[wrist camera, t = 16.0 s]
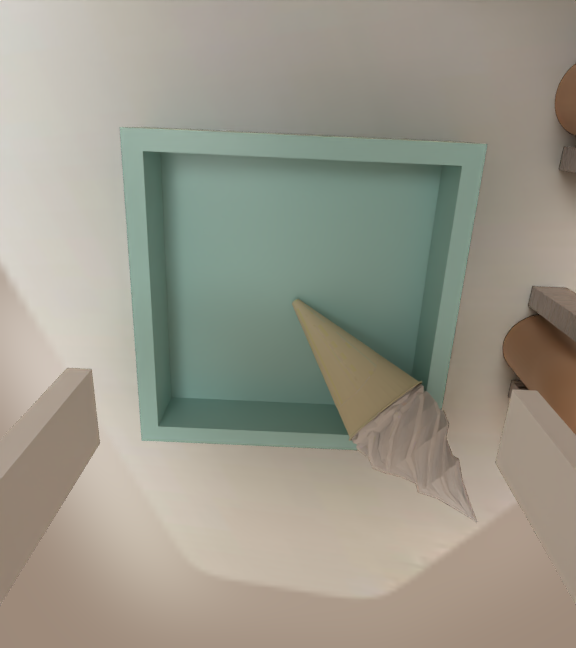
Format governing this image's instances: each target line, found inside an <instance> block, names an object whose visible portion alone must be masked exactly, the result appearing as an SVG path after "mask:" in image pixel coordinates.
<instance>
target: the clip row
mask: <svg viewBox="0 0 576 648" xmlns="http://www.w3.org/2000/svg"><path fill="white" fill-rule="evenodd" d="M559 170H562V171H568V172H574V173H576V147H564V148H563V153H562V157H561V162H560V166H559ZM528 306H530V307H531V308H532V309H534V310H535V311H536V312H537V313H539V314H540V315H541V316H543V317H544V318H545V319H547V320H548V321H549V322H550V323H552V324H553V325H554V326H556V327H557V328H558V329H560V330H561V331H562V332H563V333H565V334H566V335H567V336H569V337H570V338H571V339H573V340H574V341H575V342H576V293H574V292H573V291H571V290H569V289H568V288H559V287H538V286H533V287H532V291H531V296H530V300H529V305H528ZM512 389H515V390H528V388H527V387H526V386H525V385H524V383H523V382H522V381H521V380H511V385H510V389H509V394H508V398H509V399H510V398H511V393H512Z"/></svg>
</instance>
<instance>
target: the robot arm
mask: <svg viewBox="0 0 576 648" xmlns="http://www.w3.org/2000/svg"><path fill="white" fill-rule="evenodd" d="M99 444H100V439H99V430H98V421H97V412H96V403H95V394H94V386H93V377H92V369H80V368H67V369H66V370H65V371H64V372H63V373H62V374H61V375H60V376H59V377H58V378H57V379H56V381H55V382H54V383H53V384H52V385H51V386H50V387H49V388H48V389H47V390H46V391H45V392H44V393H43V394H42V395H41V397H40V398H39V399H38V400H37V401H36V402H35V403H34V404H33V405H32V406H31V407H30V408H29V409H28V411H27V412H26V413H25V414H24V415H23V416H22V417H21V418H20V419H19V420H18V421H17V422H16V423H15V425H14V426H13V427H12V428H11V429H10V430H9V431H8V432H7V433H6V434H5V435H4V436H3V437H2V439H1V440H0V605H1V603H2V602H3V600H4V599H5V597H6V595H7V594H8V592H9V591H10V589H11V587H12V586H13V584H14V582H15V581H16V579H17V577H18V576H19V574H20V572H21V571H22V569H23V568H24V566H25V564H26V563H27V561H28V560H29V558H30V556H31V555H32V553H33V551H34V550H35V548H36V546H37V545H38V543H39V542H40V540H41V538H42V537H43V535H44V534H45V532H46V530H47V529H48V527H49V525H50V524H51V522H52V521H53V519H54V517H55V516H56V514H57V512H58V511H59V509H60V508H61V506H62V504H63V503H64V501H65V499H66V498H67V496H68V494H69V493H70V491H71V490H72V488H73V486H74V485H75V483H76V481H77V480H78V478H79V477H80V475H81V473H82V472H83V470H84V468H85V467H86V465H87V464H88V462H89V460H90V459H91V457H92V455H93V454H94V452H95V450H96V449H97V447H98V446H99ZM495 463H496V465H497V467H498V468H499V470H500V472H501V474H502V475H503V477H504V479H505V481H506V482H507V484H508V486H509V488H510V490H511V491H512V493H513V495H514V497H515V498H516V500H517V502H518V504H519V505H520V507H521V509H522V511H523V512H524V514H525V516H526V518H527V520H528V521H529V523H530V525H531V527H532V528H533V530H534V532H535V534H536V536H537V537H538V539H539V541H540V543H541V544H542V546H543V548H544V549H545V551H546V553H547V555H548V557H549V559H550V560H551V562H552V564H553V566H554V567H555V569H556V571H557V573H558V574H559V576H560V578H561V580H562V582H563V583H564V585H565V587H566V589H567V590H568V592H569V594H570V596H571V597H572V599H573V601H574V603H575V604H576V435H575V434H574V433H573V431H572V430H571V429H570V428H569V427H568V426H567V424H566V423H565V422H564V421H563V420H562V419H561V418H560V416H559V415H558V414H557V413H556V412H555V411H554V409H553V408H552V407H551V406H550V405H549V404H548V403H547V401H546V400H545V399H544V398H543V397H542V396H541V395H540V393H539V392H538V391H536V390H515V389H512V393H511V398H510V402H509V406H508V410H507V415H506V419H505V423H504V427H503V432H502V436H501V440H500V444H499V449H498V453H497V457H496V461H495Z"/></svg>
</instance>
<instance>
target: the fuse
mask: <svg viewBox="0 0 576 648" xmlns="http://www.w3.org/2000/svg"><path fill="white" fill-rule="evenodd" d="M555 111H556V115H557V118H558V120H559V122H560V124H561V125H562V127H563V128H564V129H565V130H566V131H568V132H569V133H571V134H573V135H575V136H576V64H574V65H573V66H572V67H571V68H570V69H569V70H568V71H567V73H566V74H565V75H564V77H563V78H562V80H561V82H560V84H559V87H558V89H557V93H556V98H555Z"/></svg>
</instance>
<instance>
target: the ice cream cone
mask: <svg viewBox="0 0 576 648" xmlns="http://www.w3.org/2000/svg"><path fill="white" fill-rule="evenodd" d="M292 305H293V308H294V310H295V312H296V315H297V317H298V319H299V322H300V324H301V326H302V329H303V331H304V333H305V336H306V338H307V340H308V343H309V345H310V347H311V350H312V352H313V354H314V356H315V359H316V361H317V363H318V366H319V368H320V370H321V373H322V375H323V377H324V380H325V382H326V384H327V387H328V389H329V391H330V394H331V396H332V398H333V400H334V403H335V405H336V407H337V409H338V411H339V414H340V416H341V418H342V421H343V423H344V425H345V428H346V430H347V432H348V435H349V437H350V438H349V441H351V440H352V441H353V443H354V444H357V446H356V448H357V450H358V451H359V452H361V453H362V454H364V455H365V456H367V457H368V458H369V460H370V463H371V465H372V468H374V469H376V470H379V471H381V472H384V473H388V474H392V475H395V476H399V477H402V478H405V479H407V480H409V481H411V482H413V483H415V484H416V487H417V490H418V492H419V493H422V494H425V495H428V496H431V497H434V498H437V499H439V500H441V501H442V502H444V503H446V504H447V505H449V506H451V507H453V508H454V509H456V510H458V511H459V512H461V513H462V514H464V515H466V516H467V517H469V518H470V519H472V520H474V521H475V522H478V521H477V519H476V516H475V514H474V511H473V509H472V507H471V504H470V501H469V498H468V495H467V492H466V489H465V486H464V483H463V480H462V475H461V469H460V462H459V459H458V458H456V457H455V456H453V455H452V452H451V449H450V447H449V444H448V442H447V431H448V426H449V422H448V420H447V417H446V415H445V413H444V411H443V410H441V409H439V407H438V404H437V402H436V401H435V400H434V398H433V397H432V396H431V395H430V394H429V393H428V392H427V391H424V386H423V385H421V384H422V381H417V380H416V379H414V378H413V377H411V376H410V375H409V374H407V373H406V372H404V371H403V370H401V369H400V368H398V367H397V366H395V365H394V364H392V363H391V362H390V361H388V360H387V359H385V358H384V357H382V356H381V355H379V354H378V353H376V352H375V351H374V350H372V349H371V348H370V347H368V346H367V345H365V344H364V343H362V342H361V341H359V340H358V339H356V338H355V337H353V336H352V335H351V334H349V333H348V332H346V331H345V330H343V329H342V328H340V327H339V326H337V325H336V324H334V323H333V322H332V321H330V320H329V319H327V318H326V317H324V316H323V315H321V314H320V313H318V312H317V311H315V310H314V309H313V308H311V307H310V306H308V305H307V304H305V303H304V302H302V301H301V300H299V299H296V300H294V301H293V303H292Z"/></svg>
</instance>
